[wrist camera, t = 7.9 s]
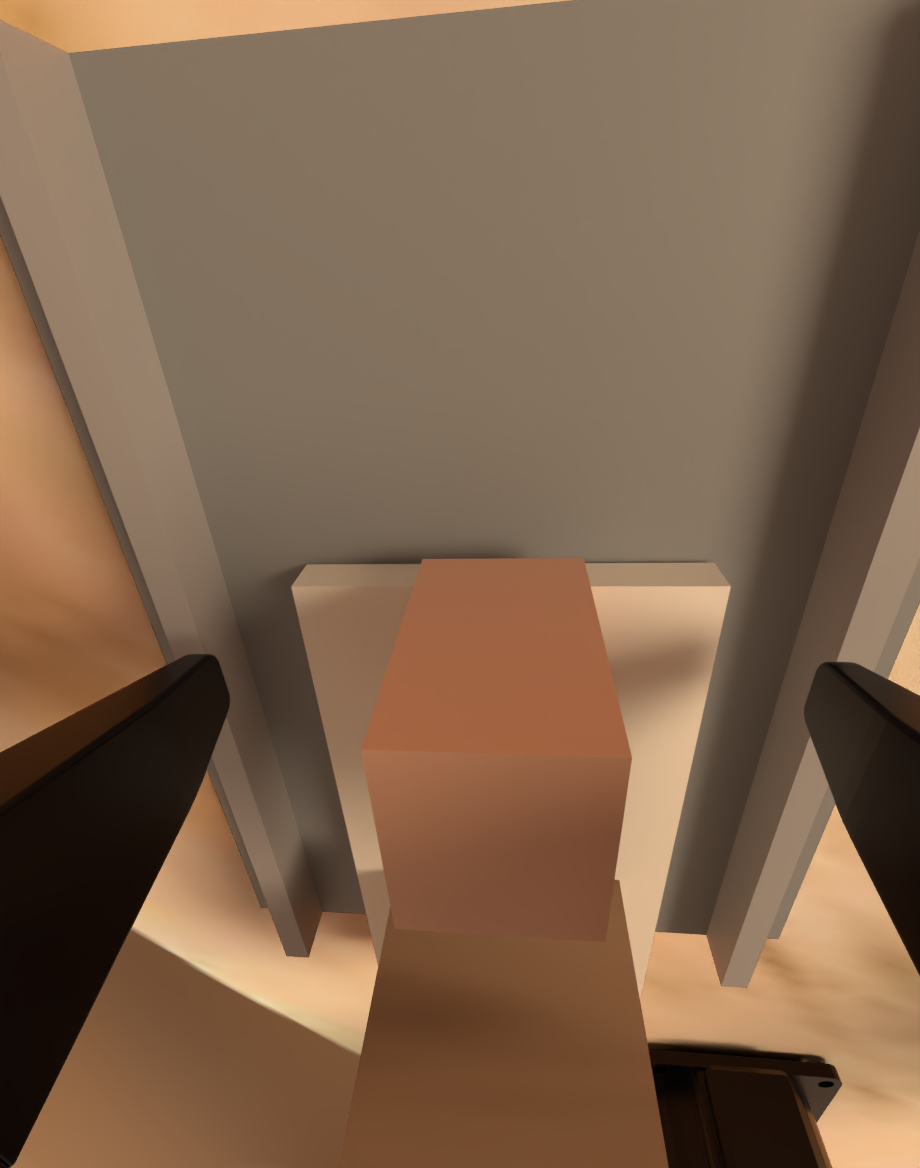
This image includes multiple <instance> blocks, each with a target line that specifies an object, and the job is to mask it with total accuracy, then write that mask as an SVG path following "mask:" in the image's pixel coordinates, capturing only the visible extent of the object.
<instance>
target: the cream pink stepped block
mask: <svg viewBox="0 0 920 1168" xmlns="http://www.w3.org/2000/svg"><path fill="white" fill-rule="evenodd" d="M291 588H292V592H293V597H294V601H295V605H296V610H297V614H298V618H299V623H300V627H301V631H302V636H303V640H304V644H305V649H306V653H307V658H308V662H309V666H310V671H311V675H312V679H313V684H314V688H315V692H316V697H317V701H318V706H319V710H320V714H321V719H322V723H323V727H324V732H325V736H326V740H327V745H328V749H329V753H330V758H331V762H332V767H333V771H334V775H335V780H336V784H337V788H338V793H339V797H340V801H341V806H342V810H343V814H344V819H345V823H346V828H347V832H348V836H349V841H350V845H351V849H352V854H353V858H354V862H355V867H356V871H357V875H358V880H359V884H360V889H361V893H362V897H363V902H364V906H365V910H366V915H367V919H368V923H369V928H370V932H371V936H372V941H373V945H374V950H375V954H376V958H377V963H378V966H379V961H380V956H381V951H382V946H383V941H384V936H385V930H386V925H387V920H388V915H389V910H390V906H391V911H392V917H393V922H394V927H395V929H404V930H420V931H436V932H452V933H468V934H484V935H500V936H515V937H531V938H547V939H563V940H579V941H595V942H606V935H607V928H608V921H609V915H610V908H611V901H612V894H613V887H614V880H619V882H620V888H621V893H622V899H623V905H624V911H625V917H626V922H627V928H628V934H629V940H630V946H631V952H632V957H633V963H634V969H635V975H636V981H637V986H638V992H639V998H640V997H641V992H642V988H643V983H644V979H645V974H646V970H647V965H648V961H649V956H650V952H651V947H652V942H653V938H654V933H655V929H656V924H657V920H658V915H659V911H660V906H661V902H662V897H663V892H664V888H665V883H666V879H667V874H668V870H669V865H670V861H671V856H672V852H673V847H674V842H675V838H676V833H677V829H678V824H679V820H680V815H681V811H682V806H683V802H684V797H685V792H686V788H687V783H688V779H689V774H690V770H691V765H692V761H693V756H694V752H695V747H696V742H697V738H698V733H699V729H700V724H701V720H702V715H703V711H704V706H705V702H706V697H707V692H708V688H709V683H710V679H711V674H712V670H713V665H714V661H715V656H716V652H717V647H718V642H719V638H720V633H721V629H722V624H723V620H724V615H725V611H726V606H727V602H728V597H729V592H730V588H731V586H730V584H729V583H728V582H727V580H726V579H725V577H724V576H723V574H722V573H721V571H720V570H719V569H718V567H717V566H716V564H715V563H585V561H584V558H498V559H422V562H421V564H307V565H306V566H305V568H304V569H303V571H302V572H301V573H300V575H299V576H298V578H297V579H296V580H295V582H294V583H293V585H292V586H291Z"/></svg>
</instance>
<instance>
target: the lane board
mask: <svg viewBox="0 0 920 1168" xmlns="http://www.w3.org/2000/svg"><path fill="white" fill-rule="evenodd" d="M0 235H1V237H2V240H3V243H4V245H5V248H6V250H7V253H8V255H9V258H10V261H11V263H12V266H13V268H14V271H15V274H16V276H17V279H18V281H19V284H20V286H21V289H22V292H23V294H24V297H25V299H26V302H27V305H28V307H29V310H30V312H31V315H32V317H33V320H34V323H35V325H36V328H37V330H38V333H39V336H40V338H41V341H42V343H43V346H44V348H45V351H46V354H47V356H48V359H49V361H50V364H51V366H52V369H53V372H54V374H55V377H56V379H57V382H58V385H59V387H60V390H61V392H62V395H63V397H64V400H65V403H66V405H67V408H68V410H69V413H70V416H71V418H72V421H73V423H74V426H75V428H76V431H77V434H78V436H79V439H80V441H81V444H82V447H83V449H84V452H85V454H86V457H87V459H88V462H89V465H90V467H91V470H92V472H93V475H94V477H95V480H96V483H97V485H98V488H99V490H100V493H101V496H102V498H103V501H104V503H105V506H106V508H107V511H108V514H109V516H110V519H111V521H112V524H113V527H114V529H115V532H116V534H117V537H118V539H119V542H120V545H121V547H122V550H123V552H124V555H125V557H126V560H127V563H128V565H129V568H130V570H131V573H132V576H133V578H134V581H135V583H136V586H137V588H138V591H139V594H140V596H141V599H142V601H143V604H144V607H145V609H146V612H147V614H148V617H149V619H150V622H151V625H152V627H153V630H154V632H155V635H156V638H157V640H158V643H159V645H160V648H161V650H162V653H163V656H164V658H165V661H166V663H167V665H168V664H170V663H171V662H173V661H175V660H177V659H179V658H181V657H183V656H185V655H188V654H212V655H214V656H215V657H216V658H217V659H218V661H219V663H220V666H221V669H222V672H223V675H224V678H225V681H226V684H227V687H228V690H229V694H230V707H229V711H228V713H227V716H226V719H225V722H224V724H223V727H222V730H221V732H220V735H219V738H218V740H217V743H216V746H215V748H214V751H213V754H212V756H211V759H210V762H209V765H208V767H207V769H208V772H209V774H210V777H211V779H212V782H213V785H214V787H215V790H216V792H217V795H218V798H219V800H220V803H221V805H222V808H223V810H224V813H225V816H226V818H227V821H228V823H229V826H230V829H231V831H232V834H233V836H234V839H235V841H236V844H237V847H238V849H239V852H240V854H241V857H242V859H243V862H244V865H245V867H246V870H247V872H248V875H249V878H250V880H251V883H252V885H253V888H254V890H255V893H256V896H257V898H258V901H259V903H260V906H261V908H269V911H270V913H271V916H272V919H273V921H274V924H275V926H276V929H277V932H278V934H279V937H280V940H281V942H282V945H283V948H284V950H285V953H286V956H294V957H308V958H309V955H310V951H311V948H312V945H313V941H314V938H315V935H316V931H317V928H318V925H319V921H320V918H321V915H322V911H323V912H339V913H356V914H366V910H365V906H364V902H363V897H362V893H361V889H360V884H359V880H358V875H357V871H356V867H355V862H354V858H353V854H352V849H351V845H350V841H349V836H348V832H347V828H346V823H345V819H344V814H343V810H342V806H341V801H340V797H339V793H338V788H337V784H336V780H335V775H334V771H333V767H332V762H331V758H330V753H329V749H328V745H327V740H326V736H325V732H324V727H323V723H322V719H321V714H320V710H319V706H318V701H317V697H316V692H315V688H314V684H313V679H312V675H311V671H310V666H309V662H308V658H307V653H306V649H305V644H304V640H303V636H302V631H301V627H300V623H299V618H298V614H297V610H296V605H295V601H294V597H293V592H292V588H291V586H292V585H293V583H294V582H295V580H296V579H297V578H298V576H299V575H300V573H301V572H302V571H303V569H304V568H305V566H306V565H307V564H421V562H422V559H498V558H584V561H585V563H715V564H716V566H717V567H718V569H719V570H720V571H721V573H722V574H723V576H724V577H725V579H726V580H727V582H728V583H729V584H730V586H731V588H730V592H729V597H728V602H727V606H726V611H725V615H724V620H723V624H722V629H721V633H720V638H719V642H718V647H717V652H716V656H715V661H714V665H713V670H712V674H711V679H710V683H709V688H708V692H707V697H706V702H705V706H704V711H703V715H702V720H701V724H700V729H699V733H698V738H697V742H696V747H695V752H694V756H693V761H692V765H691V770H690V774H689V779H688V783H687V788H686V792H685V797H684V802H683V806H682V811H681V815H680V820H679V824H678V829H677V833H676V838H675V842H674V847H673V852H672V856H671V861H670V865H669V870H668V874H667V879H666V883H665V888H664V892H663V897H662V902H661V906H660V911H659V915H658V920H657V924H656V929H655V932H669V933H686V934H702V935H707V939H708V942H709V946H710V949H711V953H712V956H713V959H714V963H715V966H716V970H717V973H718V977H719V980H720V984H721V986H727V987H741V988H747V987H748V984H749V982H750V979H751V977H752V974H753V972H754V969H755V967H756V964H757V962H758V959H759V957H760V954H761V952H762V949H763V947H764V944H765V942H766V939H767V938H768V939H779V937H780V934H781V932H782V929H783V927H784V925H785V922H786V920H787V918H788V915H789V913H790V910H791V908H792V906H793V903H794V901H795V898H796V896H797V894H798V891H799V889H800V887H801V884H802V882H803V879H804V877H805V875H806V872H807V870H808V868H809V865H810V863H811V860H812V858H813V856H814V853H815V851H816V848H817V846H818V844H819V841H820V839H821V837H822V834H823V832H824V829H825V827H826V825H827V822H828V820H829V818H830V815H831V813H832V810H833V808H834V806H835V801H834V798H833V796H832V793H831V790H830V788H829V785H828V782H827V779H826V777H825V774H824V771H823V769H822V766H821V763H820V761H819V758H818V755H817V753H816V750H815V747H814V745H813V742H812V739H811V737H810V734H809V731H808V728H807V726H806V723H805V718H804V706H805V702H806V700H807V697H808V694H809V691H810V688H811V685H812V682H813V679H814V676H815V673H816V670H817V668H818V667H819V666H820V665H821V664H822V663H824V662H853V663H857V664H859V665H861V666H863V667H865V668H867V669H869V670H871V671H873V672H875V673H877V674H879V675H881V676H882V677H884V678H886V679H888V677H889V675H890V672H891V670H892V668H893V665H894V663H895V660H896V658H897V656H898V653H899V651H900V649H901V646H902V644H903V641H904V639H905V637H906V634H907V632H908V630H909V627H910V625H911V622H912V620H913V618H914V615H915V613H916V610H917V608H918V606H919V603H920V0H571V1H561V2H552V3H542V4H532V5H523V6H513V7H504V8H494V9H485V10H475V11H466V12H456V13H447V14H437V15H428V16H418V17H409V18H399V19H390V20H380V21H371V22H361V23H352V24H342V25H332V26H323V27H313V28H304V29H294V30H285V31H275V32H266V33H256V34H247V35H237V36H228V37H218V38H209V39H199V40H190V41H180V42H171V43H161V44H152V45H142V46H132V47H123V48H113V49H104V50H94V51H85V52H75V53H67V52H65V51H63V50H61V49H59V48H57V47H55V46H53V45H51V44H49V43H47V42H45V41H43V40H41V39H39V38H37V37H35V36H33V35H31V34H29V33H27V32H25V31H23V30H21V29H19V28H17V27H15V26H12V25H10V24H8V23H6V22H4V21H2V20H0Z"/></svg>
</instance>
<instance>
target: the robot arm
mask: <svg viewBox="0 0 920 1168" xmlns="http://www.w3.org/2000/svg"><path fill="white" fill-rule="evenodd" d="M229 707H230V694H229V690H228V687H227V684H226V681H225V678H224V675H223V672H222V669H221V666H220V663H219V661H218V659H217V658H216V657H215V656H214V655H212V654H188V655H185V656H183V657H181V658H179V659H177V660H175V661H173V662H171V663H170V664H168V665H166V666H164V667H162V668H160V669H158V670H156V671H154V672H152V673H151V674H149V675H147V676H145V677H143V678H141V679H139V680H137V681H135V682H133V683H132V684H130V685H128V686H126V687H124V688H122V689H120V690H118V691H116V692H114V693H113V694H111V695H109V696H107V697H105V698H103V699H101V700H99V701H97V702H95V703H94V704H92V705H90V706H88V707H86V708H84V709H82V710H80V711H78V712H76V713H75V714H73V715H71V716H69V717H67V718H65V719H63V720H61V721H59V722H57V723H56V724H54V725H52V726H50V727H48V728H46V729H44V730H42V731H40V732H38V733H37V734H35V735H33V736H31V737H29V738H27V739H25V740H23V741H21V742H19V743H18V744H16V745H14V746H12V747H10V748H8V749H6V750H4V751H2V752H0V1168H11V1166H13V1165H14V1163H15V1162H16V1160H17V1158H18V1156H19V1154H20V1152H21V1150H22V1148H23V1146H24V1144H25V1142H26V1140H27V1138H28V1136H29V1134H30V1132H31V1130H32V1127H33V1126H34V1124H35V1122H36V1120H37V1118H38V1116H39V1113H40V1111H41V1109H42V1107H43V1105H44V1103H45V1101H46V1099H47V1097H48V1095H49V1093H50V1091H51V1089H52V1087H53V1085H54V1083H55V1081H56V1079H57V1077H58V1075H59V1073H60V1071H61V1069H62V1067H63V1065H64V1063H65V1061H66V1059H67V1057H68V1055H69V1053H70V1051H71V1049H72V1047H73V1045H74V1043H75V1041H76V1039H77V1037H78V1035H79V1033H80V1030H81V1029H82V1027H83V1025H84V1023H85V1021H86V1019H87V1017H88V1015H89V1012H90V1011H91V1008H92V1006H93V1004H94V1002H95V1000H96V998H97V996H98V994H99V992H100V990H101V988H102V986H103V984H104V982H105V980H106V978H107V976H108V974H109V972H110V970H111V968H112V966H113V964H114V962H115V960H116V958H117V956H118V954H119V952H120V950H121V948H122V946H123V944H124V942H125V940H126V938H127V936H128V934H129V932H130V930H131V928H132V926H133V924H134V922H135V920H136V918H137V916H138V914H139V912H140V910H141V907H142V905H143V903H144V901H145V899H146V897H147V895H148V893H149V891H150V889H151V887H152V885H153V883H154V881H155V879H156V877H157V875H158V873H159V871H160V869H161V867H162V865H163V863H164V861H165V859H166V857H167V855H168V853H169V851H170V849H171V847H172V845H173V843H174V841H175V839H176V837H177V835H178V833H179V831H180V829H181V827H182V825H183V823H184V821H185V819H186V817H187V815H188V813H189V810H190V808H191V806H192V804H193V802H194V800H195V798H196V795H197V793H198V790H199V788H200V786H201V783H202V781H203V778H204V775H205V773H206V770H207V767H208V765H209V762H210V759H211V756H212V754H213V751H214V748H215V746H216V743H217V740H218V738H219V735H220V732H221V730H222V727H223V724H224V722H225V719H226V716H227V713H228V711H229ZM804 718H805V723H806V726H807V728H808V731H809V734H810V737H811V739H812V742H813V745H814V747H815V750H816V753H817V755H818V758H819V761H820V763H821V766H822V769H823V771H824V774H825V777H826V779H827V782H828V785H829V788H830V790H831V793H832V796H833V798H834V801H835V804H836V806H837V809H838V811H839V813H840V816H841V818H842V821H843V823H844V825H845V827H846V829H847V831H848V834H849V836H850V838H851V840H852V842H853V844H854V846H855V848H856V850H857V852H858V854H859V856H860V858H861V860H862V862H863V864H864V866H865V868H866V870H867V872H868V874H869V876H870V878H871V880H872V882H873V884H874V886H875V888H876V890H877V892H878V894H879V896H880V898H881V900H882V902H883V904H884V906H885V908H886V910H887V912H888V914H889V916H890V918H891V920H892V922H893V924H894V926H895V928H896V930H897V932H898V934H899V936H900V938H901V940H902V942H903V944H904V946H905V948H906V950H907V952H908V954H909V956H910V958H911V960H912V962H913V964H914V966H915V967H916V969H917V971H918V973H919V975H920V696H919V695H917V694H915V693H913V692H911V691H910V690H908V689H906V688H904V687H902V686H900V685H898V684H896V683H894V682H892V681H890V680H888V679H886V678H884V677H882V676H881V675H879V674H877V673H875V672H873V671H871V670H869V669H867V668H865V667H863V666H861V665H859V664H857V663H853V662H824V663H822V664H821V665H820V666H819V667H818V668H817V670H816V673H815V676H814V679H813V682H812V685H811V688H810V691H809V694H808V697H807V700H806V702H805V706H804ZM649 1056H650V1062H651V1068H652V1073H653V1079H654V1085H655V1091H656V1097H657V1102H658V1108H659V1114H660V1120H661V1126H662V1132H663V1137H664V1143H665V1149H666V1155H667V1161H668V1166H669V1168H832V1166H831V1163H830V1160H829V1157H828V1154H827V1152H826V1149H825V1146H824V1143H823V1140H822V1138H821V1135H820V1132H819V1129H818V1126H817V1124H816V1123H817V1121H818V1120H819V1118H820V1117H821V1115H822V1114H823V1112H824V1111H825V1109H826V1108H827V1106H828V1105H829V1103H830V1102H831V1100H832V1099H833V1098H834V1096H835V1095H836V1093H837V1092H838V1090H839V1089H840V1087H841V1086H842V1082H841V1080H840V1077H839V1075H838V1072H837V1070H836V1068H835V1067H834V1066H833V1065H830V1064H825V1063H814V1062H802V1061H790V1060H778V1059H765V1058H753V1057H741V1056H728V1055H716V1054H704V1053H691V1052H679V1051H667V1050H650V1051H649Z"/></svg>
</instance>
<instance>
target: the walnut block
mask: <svg viewBox="0 0 920 1168" xmlns="http://www.w3.org/2000/svg"><path fill="white" fill-rule="evenodd" d="M339 1168H669V1166H668V1161H667V1155H666V1149H665V1143H664V1137H663V1132H662V1126H661V1120H660V1114H659V1108H658V1102H657V1097H656V1091H655V1085H654V1079H653V1073H652V1068H651V1062H650V1056H649V1050H648V1044H647V1039H646V1033H645V1027H644V1021H643V1015H642V1010H641V1004H640V998H639V992H638V986H637V981H636V975H635V969H634V963H633V957H632V952H631V946H630V940H629V934H628V928H627V922H626V917H625V911H624V905H623V899H622V893H621V888H620V882H619V880H614V887H613V894H612V901H611V908H610V915H609V921H608V928H607V935H606V942H595V941H579V940H563V939H547V938H531V937H515V936H500V935H484V934H468V933H452V932H436V931H420V930H404V929H395V927H394V922H393V917H392V911H391V906H390V910H389V915H388V920H387V925H386V930H385V936H384V941H383V946H382V951H381V956H380V961H379V966H378V971H377V976H376V981H375V986H374V991H373V996H372V1002H371V1007H370V1012H369V1017H368V1022H367V1027H366V1032H365V1037H364V1042H363V1047H362V1052H361V1057H360V1063H359V1068H358V1073H357V1078H356V1083H355V1088H354V1094H353V1099H352V1103H351V1108H350V1114H349V1118H348V1124H347V1129H346V1134H345V1139H344V1144H343V1149H342V1154H341V1159H340V1164H339Z"/></svg>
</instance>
